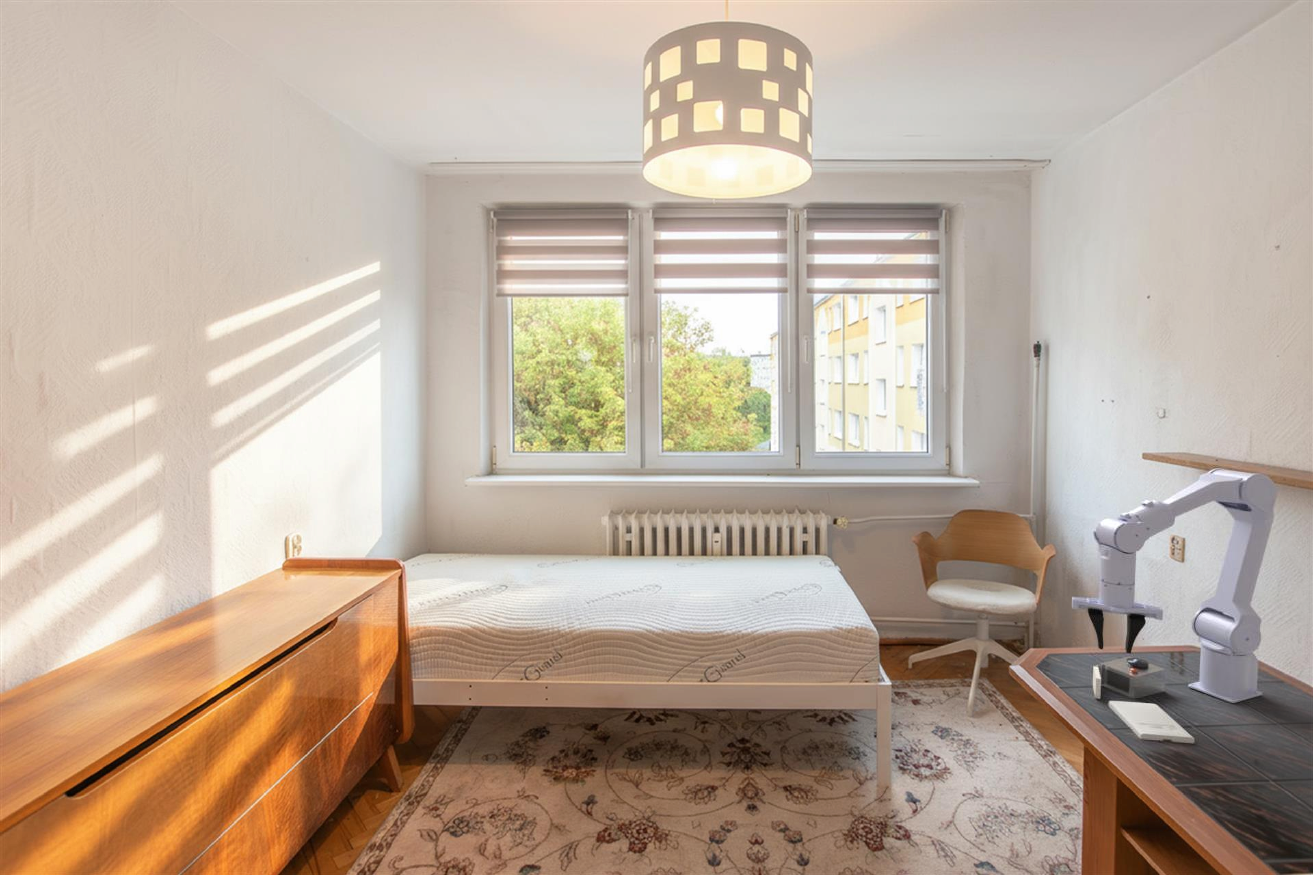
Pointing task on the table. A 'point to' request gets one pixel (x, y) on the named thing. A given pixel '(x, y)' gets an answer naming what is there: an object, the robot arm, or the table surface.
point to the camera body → (1132, 677)
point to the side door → (1097, 681)
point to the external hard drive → (1150, 722)
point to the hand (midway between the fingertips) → (1114, 649)
